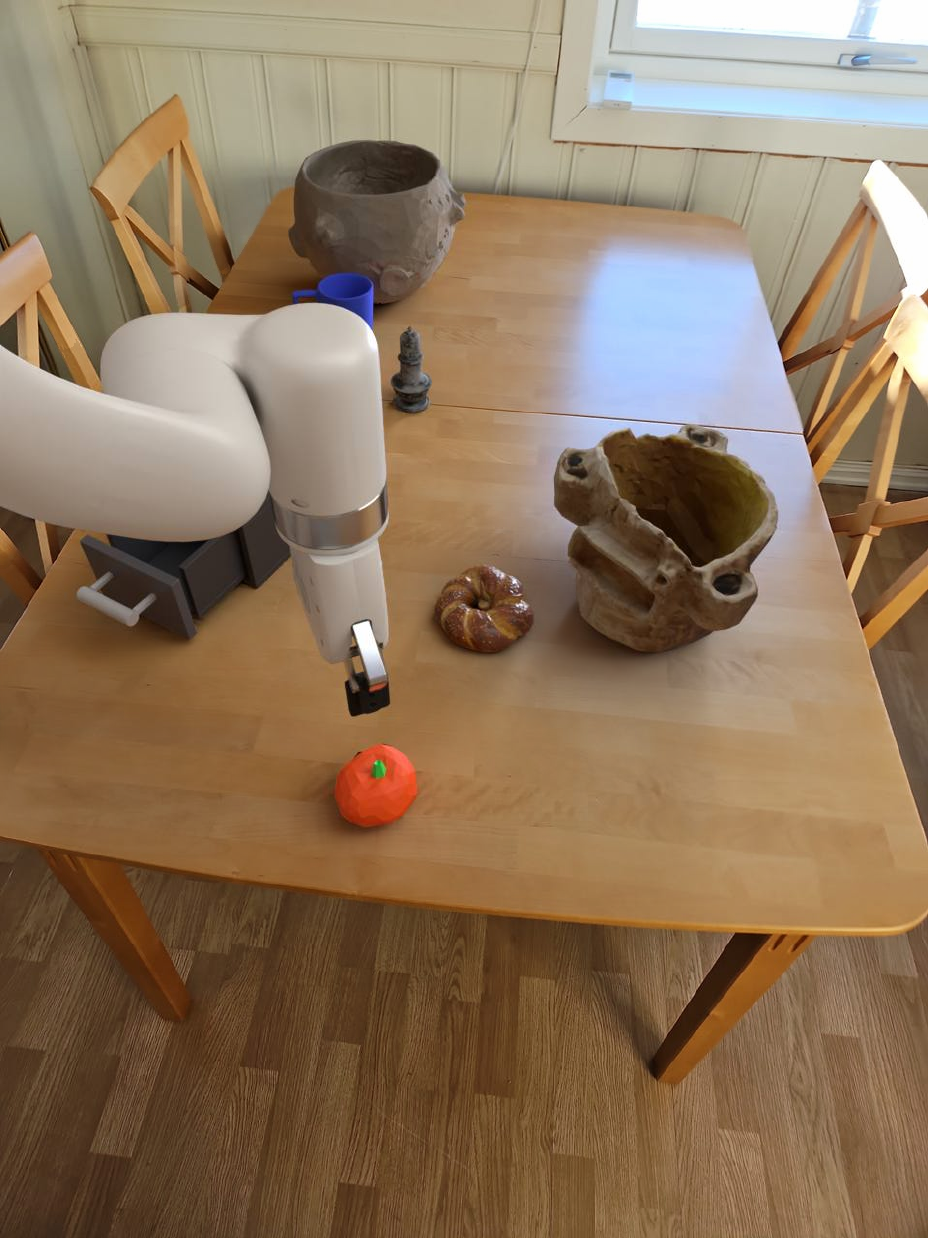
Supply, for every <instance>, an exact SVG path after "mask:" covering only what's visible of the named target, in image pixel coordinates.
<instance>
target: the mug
mask: <svg viewBox="0 0 928 1238" xmlns="http://www.w3.org/2000/svg"><path fill="white" fill-rule="evenodd" d="M306 297H307V298H314V299H315V300H316V303H324V304H330V305H335V306H339V307H342V308H345V309H347V310H349V311H351V312H353V313H355V314H356V315H358V316H359V317H361V318H362V319H363V320H364V321H365V322H366V323H367V324H368V325H369V327H370V328H371V330H372V332H374V331H373V327H374V326H373V325H374V323H373V321H374V303H373V283H372V282H371V280H370V279H368V278H367V277H365V276H362V275H359V274H354V273H338V274H334V275H330V276H328V277H326V278H324V279H322V278H321V280H320V281H319V282H318V284H317V289H300V290H295V291H293V292H292V294H291V299H292V303H293V304H292V305H294V304H299V300H298V298H306Z"/></svg>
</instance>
